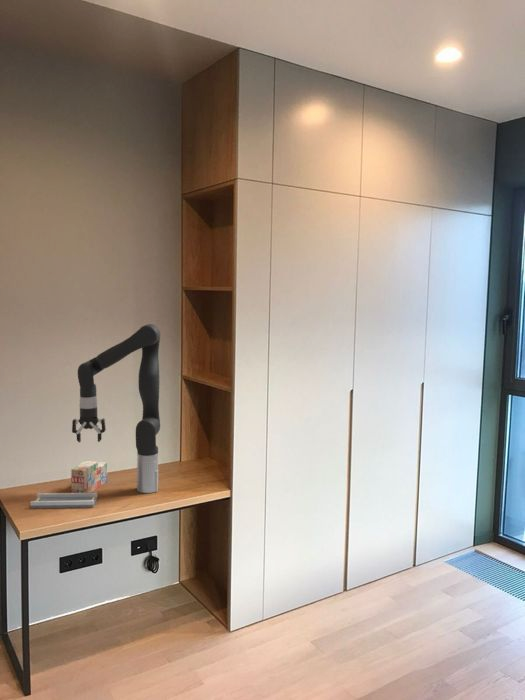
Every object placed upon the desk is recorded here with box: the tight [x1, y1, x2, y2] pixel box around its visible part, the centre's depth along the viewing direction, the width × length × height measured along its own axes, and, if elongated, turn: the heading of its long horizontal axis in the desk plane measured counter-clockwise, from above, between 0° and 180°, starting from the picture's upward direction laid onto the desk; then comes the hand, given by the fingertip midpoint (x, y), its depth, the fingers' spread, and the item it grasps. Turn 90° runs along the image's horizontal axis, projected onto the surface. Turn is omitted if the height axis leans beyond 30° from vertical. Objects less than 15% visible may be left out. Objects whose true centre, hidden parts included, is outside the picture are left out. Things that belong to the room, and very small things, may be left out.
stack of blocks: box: [70, 460, 108, 493], centre depth 256 cm, size 21×6×12 cm, turn 168°
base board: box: [30, 492, 98, 509], centre depth 238 cm, size 25×10×3 cm, turn 97°
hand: (89, 441), depth 254 cm, fingers open, 8 cm apart
